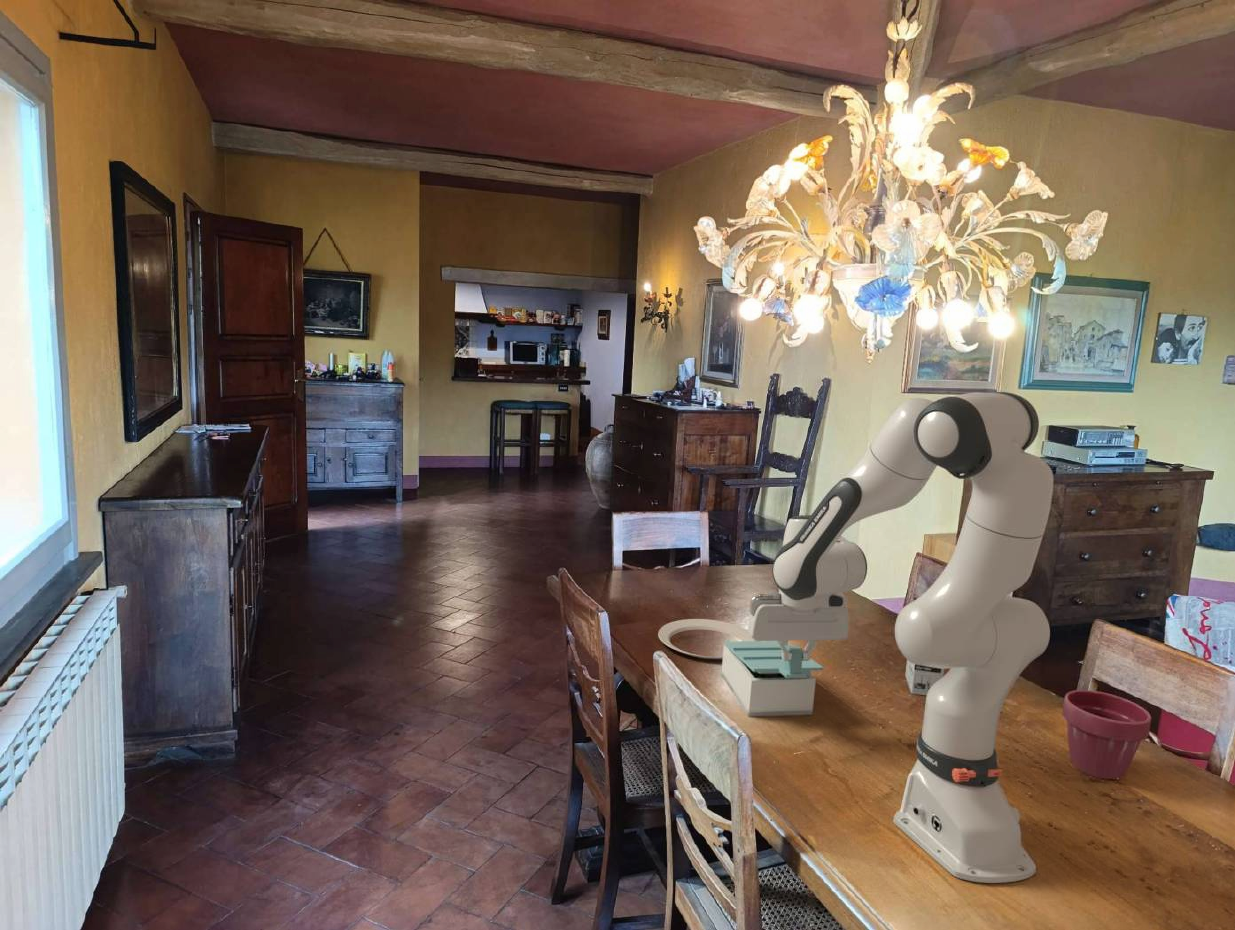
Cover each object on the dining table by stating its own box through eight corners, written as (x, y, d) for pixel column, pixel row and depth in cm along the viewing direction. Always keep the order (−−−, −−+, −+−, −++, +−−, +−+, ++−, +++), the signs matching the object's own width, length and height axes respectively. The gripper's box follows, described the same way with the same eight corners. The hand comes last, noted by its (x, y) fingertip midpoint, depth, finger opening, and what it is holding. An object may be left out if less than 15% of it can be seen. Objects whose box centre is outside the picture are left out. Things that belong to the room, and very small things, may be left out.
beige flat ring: (700, 619, 225) (701, 612, 225) (778, 647, 208) (778, 640, 207) (637, 640, 208) (637, 633, 207) (715, 674, 190) (716, 666, 189)
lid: (831, 681, 164) (833, 649, 164) (760, 683, 162) (762, 650, 161) (785, 647, 189) (786, 619, 189) (723, 648, 187) (724, 620, 186)
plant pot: (1113, 750, 163) (1123, 691, 161) (1157, 790, 149) (1169, 725, 147) (1041, 746, 163) (1050, 686, 161) (1079, 785, 150) (1089, 720, 147)
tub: (812, 714, 172) (815, 679, 170) (748, 716, 169) (751, 680, 168) (778, 674, 191) (781, 641, 190) (721, 675, 189) (723, 642, 187)
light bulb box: (941, 698, 183) (947, 653, 181) (910, 694, 184) (915, 649, 182) (933, 679, 193) (938, 636, 191) (903, 675, 194) (909, 632, 193)
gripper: (756, 599, 157) (750, 667, 159) (855, 598, 160) (849, 665, 162) (746, 589, 163) (741, 654, 165) (842, 588, 166) (836, 652, 168)
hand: (795, 659), depth 164 cm, fingers closed on lid, 2 cm apart
